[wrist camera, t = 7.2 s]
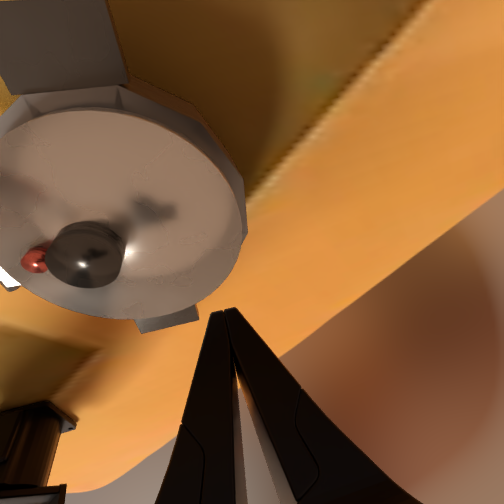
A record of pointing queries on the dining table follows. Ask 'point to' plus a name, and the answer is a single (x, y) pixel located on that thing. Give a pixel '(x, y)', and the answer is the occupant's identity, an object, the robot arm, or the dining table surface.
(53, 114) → the lid
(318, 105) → the dining table surface
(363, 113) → the dining table surface
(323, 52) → the dining table surface
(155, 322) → the pot
